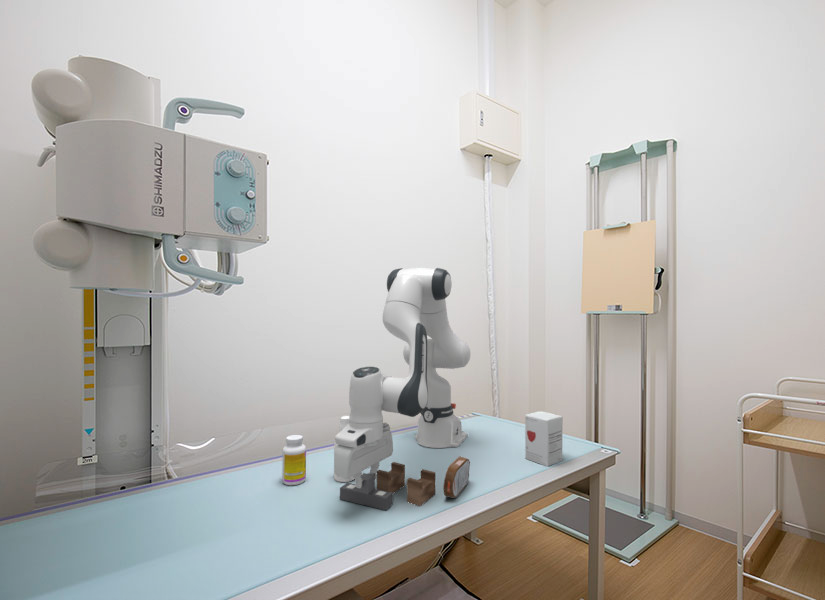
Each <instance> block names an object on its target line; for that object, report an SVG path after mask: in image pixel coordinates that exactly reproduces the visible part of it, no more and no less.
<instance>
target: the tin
mask: <svg viewBox="0 0 825 600" xmlns="http://www.w3.org/2000/svg"><path fill="white" fill-rule="evenodd" d="M470 463H471V462H470V459H469V458H467V457H463V456H458V457H457V458H455V460H453V462H452V463H450V465H448V467H447V470H446V472H445V475H444V479H443V494H444V496H445V497H447V498H451V499H455V498H457V497H458V496H459V495H460V494H461V493H462V491H463V490H464V489H465V488H466V486H467V484H468V481H469V478H470Z"/></svg>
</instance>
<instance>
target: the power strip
mask: <svg viewBox="0 0 825 600" xmlns="http://www.w3.org/2000/svg"><path fill="white" fill-rule="evenodd" d="M360 476H361V479H363V480H364V486H363V487H361V488H356V486H355V483H351V482H345V483H344V484H343V485H342V486H340V487H339V500H341V501H347V502H349V501H350V502H351V503H354V504H358V505H363V506H367V507H369V508H370V507H371V508H373V509H379V510H383V511H387V510H388V509H389V508H391V507H392V506H393V504H394V503H393V502H394V499H393V498H394V493H392V492H388V491H383V490H379V489H377V488H376V479H375V475H370V474H368V473H363V472H362V475H360Z"/></svg>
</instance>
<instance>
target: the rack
mask: <svg viewBox="0 0 825 600" xmlns="http://www.w3.org/2000/svg"><path fill="white" fill-rule="evenodd" d="M436 474H437V473H436V471H432V470H428V469H425V468H423V469H421V470H420V478H418V479H417V478H416V479H415V478H412V477H409V478H407V480H406V464H403V463H400V462H395V461H391V463H390V470H389V471H386V470H382V469H378V470H377V473H376V489H379V490H383V491H388V492H392V493H393V494H395V493H397V492H398V491H399V490H401V489H403V488H404V487H405V486H406V491H407V492H406V503H407V502H409V503H408V504H411V503H412V504H411V505H414V504H415V506H417V505H419V506H418V507H421V506H423V505H424V504H425V503H427V502H428V501H429V500H430V499H432V498H434V496H435V495H436ZM403 486H404V487H403ZM400 488H401V489H400ZM397 490H398V491H397ZM394 492H395V493H394ZM431 497H432V498H431ZM428 499H429V500H428ZM427 500H428V501H427ZM424 502H425V503H424ZM423 503H424V504H423ZM422 504H423V505H422Z"/></svg>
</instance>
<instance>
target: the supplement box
mask: <svg viewBox="0 0 825 600" xmlns="http://www.w3.org/2000/svg"><path fill="white" fill-rule="evenodd" d="M524 419H525V430H524V432H525V434H524V435H525V443H524V444H525V447H524V448H525V449H524V451H525V453H524V454H525V455H524V456H525V457H524V459H525V460H528V461H532V462H534V463H537V464H539V465H542V466H545V467H550V466H552V465H555V464H557V463H559V462H562V461H563V416H562V415H558V414H554V413H551V412H547V411H542V410H539V411H535V412H531V413H527V414H525V416H524Z"/></svg>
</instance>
